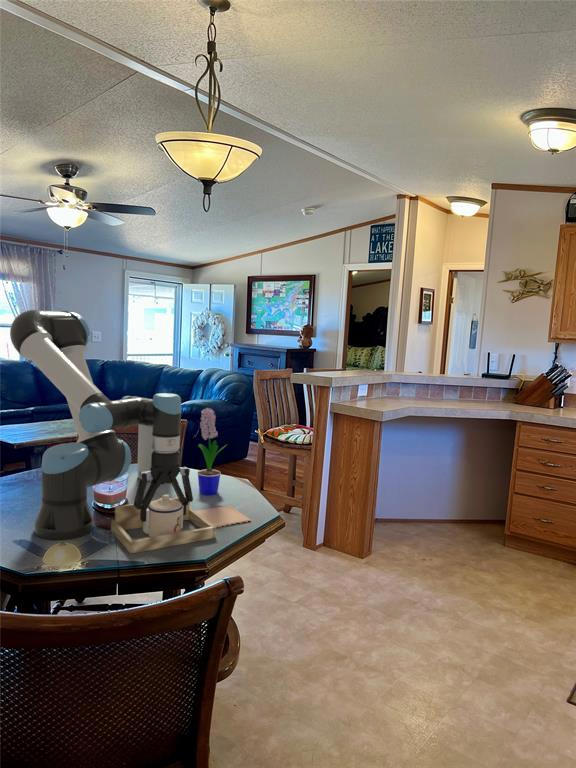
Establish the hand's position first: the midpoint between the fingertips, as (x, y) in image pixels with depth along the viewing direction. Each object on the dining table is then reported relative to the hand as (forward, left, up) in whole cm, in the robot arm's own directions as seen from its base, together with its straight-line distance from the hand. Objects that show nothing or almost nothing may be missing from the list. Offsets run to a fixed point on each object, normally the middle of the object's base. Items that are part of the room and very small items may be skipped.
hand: (163, 529), depth 155 cm
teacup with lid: (+1, 0, -2) cm, 2 cm away
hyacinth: (+28, +28, -2) cm, 40 cm away
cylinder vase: (+17, +53, -2) cm, 56 cm away
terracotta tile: (+20, +5, -1) cm, 21 cm away
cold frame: (0, 0, -1) cm, 1 cm away
